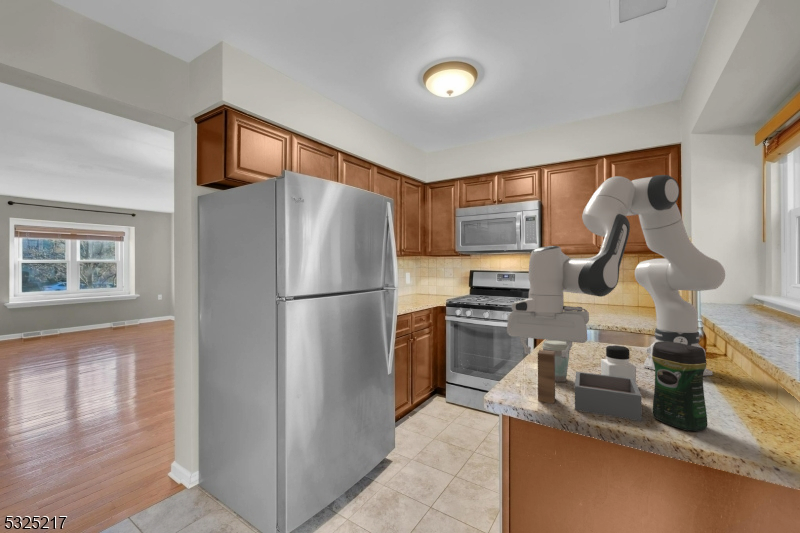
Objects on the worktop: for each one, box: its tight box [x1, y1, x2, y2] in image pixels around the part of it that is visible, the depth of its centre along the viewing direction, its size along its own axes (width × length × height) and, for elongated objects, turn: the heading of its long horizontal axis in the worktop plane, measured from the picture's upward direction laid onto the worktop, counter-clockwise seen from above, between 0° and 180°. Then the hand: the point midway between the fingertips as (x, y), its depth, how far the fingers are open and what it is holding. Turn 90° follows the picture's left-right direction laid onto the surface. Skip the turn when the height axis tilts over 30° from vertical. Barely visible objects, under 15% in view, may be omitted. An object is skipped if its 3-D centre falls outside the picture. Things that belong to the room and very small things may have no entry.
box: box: [574, 371, 642, 422], centre depth 91 cm, size 14×14×6 cm
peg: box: [537, 349, 556, 404], centre depth 95 cm, size 4×4×13 cm
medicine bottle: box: [600, 344, 637, 383], centre depth 105 cm, size 7×7×12 cm
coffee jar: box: [652, 341, 708, 432], centre depth 80 cm, size 10×8×19 cm
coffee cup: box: [541, 339, 572, 383], centre depth 112 cm, size 8×8×12 cm
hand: (545, 355), depth 94 cm, fingers open, 8 cm apart
